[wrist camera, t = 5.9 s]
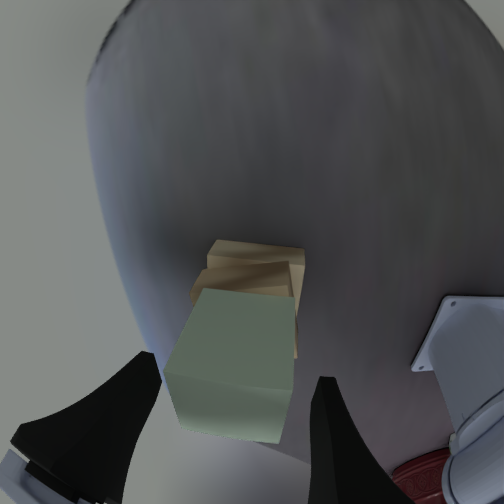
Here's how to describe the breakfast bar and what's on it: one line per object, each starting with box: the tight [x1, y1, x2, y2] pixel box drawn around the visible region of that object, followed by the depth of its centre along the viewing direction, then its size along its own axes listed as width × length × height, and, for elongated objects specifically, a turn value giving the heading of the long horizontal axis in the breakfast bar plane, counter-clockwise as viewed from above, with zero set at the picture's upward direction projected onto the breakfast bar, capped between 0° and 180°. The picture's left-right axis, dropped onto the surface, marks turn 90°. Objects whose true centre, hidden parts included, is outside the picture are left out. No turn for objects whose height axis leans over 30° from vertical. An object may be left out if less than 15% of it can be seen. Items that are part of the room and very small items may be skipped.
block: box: [163, 288, 295, 444], centre depth 12 cm, size 4×4×6 cm
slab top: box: [189, 261, 298, 358], centre depth 16 cm, size 5×5×2 cm
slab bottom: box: [207, 240, 305, 317], centre depth 18 cm, size 6×6×2 cm
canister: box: [392, 448, 451, 504], centre depth 24 cm, size 13×13×18 cm
